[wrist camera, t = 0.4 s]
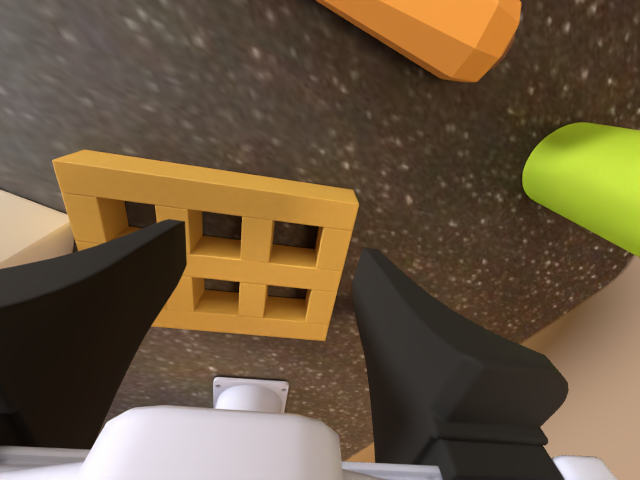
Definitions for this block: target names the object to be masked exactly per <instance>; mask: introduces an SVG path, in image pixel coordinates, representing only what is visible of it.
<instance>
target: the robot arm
mask: <svg viewBox="0 0 640 480" xmlns="http://www.w3.org/2000/svg"><path fill="white" fill-rule="evenodd" d="M186 265H187V256H186V231H185V221H179V220H172V219H167V220H163V221H160V222H158V223H155V224H152V225H150V226H147V227H145V228H142V229H140V230H137V231H135V232H132V233H130V234H127V235H125V236H122V237H119V238H116V239H114V240H111V241H108V242H105V243H102V244H99V245H97V246H94V247H91V248H87V249H84V250H81V251H77V252H74V253H70V254H66V255H63V256H59V257H55V258H51V259H46V260H42V261H37V262H32V263H28V264H23V265H18V266H14V267H8V268H3V269H0V480H617V479H616V477H615V476H614V475H613V474H612V472H611V471H610V470H609V468H608V467H607V466H606V464H605V463H604V462H603V461H602V459H600V458H597V457H590V456H571V455H563V456H557V457H554V458H552V459H551V458H550V456H549V455H548V453H547V451H546V450H545V448H544V447H543V445H546V444H547V443H548V439H547V437H546V436H545V434H544V433H543V431H542V430H541V428H540V427H541V426H542V425H543V424H544V423H545V421H547V420H548V419H549V418H550V416H552V415H553V414H554V413H555V412H556V411H557V410H558V409H559V407H560V406H561V405H562V404H563V402H564V401H565V399H566V397H567V394H568V383H567V381H566V380H565V378H564V377H563V376H562V375H561V373H560V372H559V371H558V370H557V369H556V368H555V366H554V365H553V364H552V363H551V362H550V360H549V359H548V358H547V357H546V356H545V355H543V354H541V353H538V352H536V351H533V350H531V349H529V348H526V347H524V346H522V345H519V344H517V343H514V342H512V341H510V340H508V339H505V338H503V337H501V336H499V335H497V334H495V333H493V332H491V331H489V330H487V329H485V328H483V327H481V326H479V325H477V324H475V323H474V322H472V321H470V320H468V319H467V318H465V317H463V316H462V315H460V314H458V313H456V312H455V311H453V310H452V309H450V308H448V307H447V306H445V305H444V304H443V303H441V302H440V301H438V300H437V299H435V298H434V297H432V296H431V295H430V294H428V293H427V292H426V291H425V290H423V289H422V288H421V287H420V286H418V285H417V284H416V283H415V282H413V281H412V280H411V279H410V278H409V277H408V276H407V275H405V274H404V273H403V272H402V271H401V270H400V269H399V268H398V267H397V266H395V265H394V264H393V263H392V262H391V261H390V260H389V259H388V258H387V257H386V256H385V255H383V254H382V253H381V252H380V251H379V250H377V249H370V248H363V250H362V253H361V256H360V260H359V263H358V266H357V269H356V273H355V276H354V279H353V282H352V299H353V307H354V312H355V316H356V321H357V325H358V329H359V333H360V337H361V341H362V346H363V350H364V355H365V360H366V366H367V374H368V382H369V391H370V401H371V410H372V422H373V435H374V448H375V463H366V462H365V463H364V462H344V461H341V451H340V440H339V435H338V434H337V433H336V432H335V431H333V430H332V429H331V428H330V427H328V426H327V425H326V424H324V423H323V422H322V421H321V420H319V419H315V418H311V417H307V416H302V415H298V414H290V413H284V410H285V405H286V399H287V394H288V388H289V383H288V382H285V381H271V380H256V379H241V378H226V377H216V378H215V379H214V381H213V396H214V408H200V407H185V406H170V405H158V406H146V407H135V408H133V409H130V410H128V411H126V412H124V413H122V414H120V415H119V416H117V417H115V418H113V419H111V420H109V421H108V422H107V423H106V425H105V426H104V428H103V430H102V432H101V433H100V435H99V437H98V438H97V436H98V434H99V431H100V429H101V426H102V424H103V422H104V420H105V417H106V415H107V413H108V411H109V408H110V406H111V404H112V402H113V399H114V397H115V395H116V393H117V391H118V388H119V386H120V384H121V382H122V380H123V378H124V376H125V374H126V372H127V370H128V367H129V365H130V363H131V361H132V360H133V358H134V356H135V354H136V352H137V350H138V348H139V346H140V344H141V342H142V340H143V338H144V337H145V335H146V333H147V332H148V330H149V328H150V327H151V325H152V324H153V322H154V321H155V319H156V318H157V316H158V315H159V313H160V312H161V310H162V309H163V307H164V306H165V304H166V303H167V301H168V299H169V298H170V296H171V295H172V293H173V292H174V290H175V289H176V287H177V285H178V283H179V281H180V279H181V277H182V275H183V272H184V270H185V268H186ZM96 438H97V440H96ZM95 441H96V442H95ZM94 443H95V444H94Z"/></svg>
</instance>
